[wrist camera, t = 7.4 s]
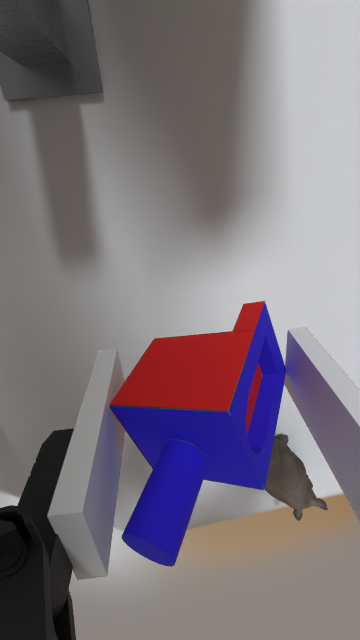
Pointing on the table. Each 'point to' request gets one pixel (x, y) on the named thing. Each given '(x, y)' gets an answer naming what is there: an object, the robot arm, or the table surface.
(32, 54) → the post
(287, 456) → the rhino figurine
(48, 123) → the table surface
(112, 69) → the table surface
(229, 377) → the toy building block
